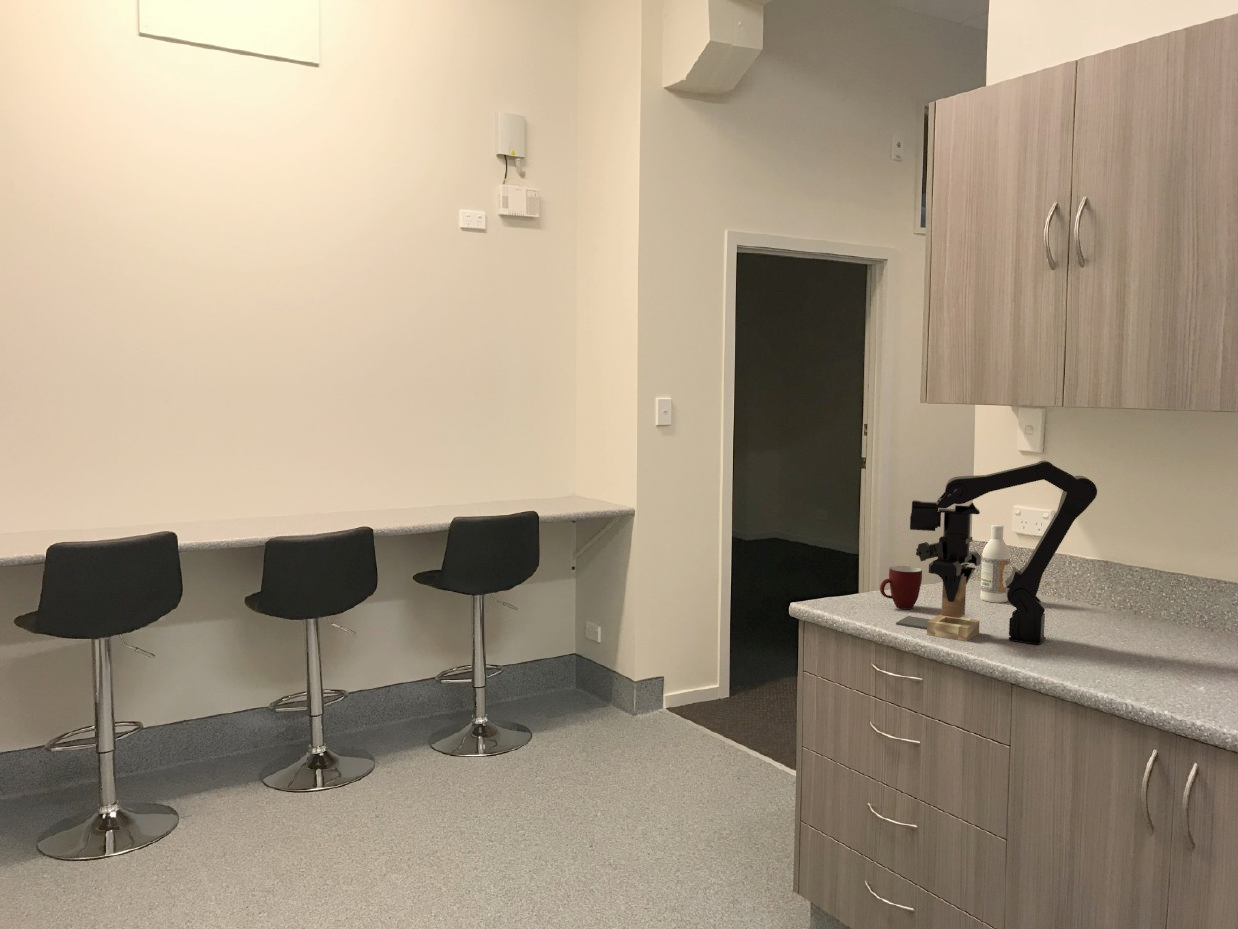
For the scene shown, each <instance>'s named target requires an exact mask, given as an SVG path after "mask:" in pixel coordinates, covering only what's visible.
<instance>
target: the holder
mask: <svg viewBox="0 0 1238 929" xmlns="http://www.w3.org/2000/svg"><path fill="white" fill-rule="evenodd" d="M979 633H980V619H974V618H969V617H968V618H967V617H963V616H962V617H960V618H954V617H948V616H942V613H940V614H939V615H937V616H935V617H934V618H932V619H931V620H930V621H928V622H927V629H926V635H927V636H931V637H932V636H934V637H938V638H943V639H944V638H946V639H952V640H957V641H962V642H968V641H970V640H971V639H972V638H974V637H975V636H976V635H978V634H979Z"/></svg>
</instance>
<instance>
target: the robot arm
mask: <svg viewBox="0 0 1238 929" xmlns="http://www.w3.org/2000/svg"><path fill="white" fill-rule="evenodd" d="M1038 481H1046V482H1047V483H1049V484H1051V485H1053V486H1054V487H1056V488H1059V489H1060V490H1062V492H1061V496H1060V499H1059V503H1058V507H1057V510H1056V512H1055V514H1054V515H1053V517H1052V518H1051V520H1050V522H1049V523H1048V526H1047V527H1046V528H1045V530H1044V532H1043V534H1042V536H1041V537H1040V539H1039V540H1038V543H1037V545H1036V546H1035V548H1034V550H1033V552H1032V553H1031V555H1030V556H1029V558H1028V560H1027V561H1026V563H1025V564H1024V565H1023V566H1022V567H1021V568H1019V569H1018V568H1017V567H1015V566H1013V568H1012V569H1011V573H1010V576H1009V578H1008V579H1007V580H1006V581H1005V583H1006V589H1005V590H1006V595H1007V598H1008V601H1007V602H1008V603H1010V606H1013V608H1016V609H1014V610H1013V611H1012V615H1011V617H1010V618H1009V624H1008V636H1009V637H1008V640H1009V641H1012V642H1013V641H1014V642H1020V643H1024V644H1025V643H1027V644H1032V645H1040V644H1042V643H1043V642H1044V641H1046V639H1047V637H1046V636H1045V622H1046V621H1045V618H1046V614H1045V611H1046V610H1045V607H1044V604H1043V602H1042V600H1041V599H1040V598H1039V597H1038V596H1037V594H1038V591H1039V588H1040V585H1041V581H1042V577H1043V574H1044V573H1045V570H1046V569H1047V568H1048V566H1049V564H1050V562H1051V560H1052V559H1053V557H1054V556H1055V554H1056V552H1057V550H1058V548H1059V547H1060V545H1061V544H1062V542H1063V540H1064V538H1065V537H1066V536H1067V533H1068V532H1069V530H1070V529H1071V526H1072V525H1073V523H1074V521H1076V520H1077V518H1078V517H1080V515H1081V514H1082V513H1083V512H1085V510H1087V508H1088V507H1089V506H1090V505H1091V504H1093V502H1094V501H1095V499H1096V497H1097V495H1098V488H1097V485H1096V483H1095V482H1093V481H1092V480H1091V479H1089V477H1086V476H1083V475H1073V474H1070V473H1069V472H1067V471H1065V470H1063V469H1061V468H1060V467H1057V466H1055V465H1054V464H1052V462H1050V461H1048V460H1045V459H1043V460H1039V461H1037V462H1035V463H1031V464H1027V465H1022V466H1019V467H1014V468H1010V469H1006V470H1001V471H997V472H993V473H989V474H988V473H987V474H983V475H982V474H980V475H961V476H958V475H957V476H955V477H952V478H950V479H948V480H947V482H946V485H945V489H944V492H943V494H942V495H941V496H939V497H937V498H938V499H937V500H936V501H921V500H915V499H913V500H912V501H911V512H910V518H909V529H910V531H924V532H925V531H927V532H936V529H938V528H941V524H942V523H941V522H942V518H941V517H942V513H943V514H944V515H943V535H941V536H940V537H939V538H938V542H933V543H928V542H927V541H925V542H921V543H918V544H917V548H915V550H916V552H915V555H916V556H917V557H919V560H920V562H924V561H927V560H930V559H933V558H936V559H935V560H932V561H931V562H930V563H928V573H929V574H933V575H937V576H938V577H939V578H940V579H941V580H942V584H943V583H944V587H945V591H946V594H947V598H948V601H949V602H953V601H954V599H955V597H956V594H957V592H958V589H959V587H960V584H961V582H962V579H963V577H964V576H966V585H968V583H969V581H970V579H971V577H972V575H973V573H974V571H975V570H976V568H975V567H972V566H970V564H974V566H980V565H982V555H981V554H980V553H978V551H970V545H971V544H970V543H971V542H973V536H971V522H972V520H971V517H972V516H971V515H980V513H981V512H980V509H979V508H977V507H976V505H975V503H974V502H971V501H974V500H975V499H979V497H982V496H984V495H986V494H989V493H990V492H995V491H999V490H1004V489H1009V488H1012V487H1016V486H1021V485H1026V484H1030V483H1034V482H1038ZM968 502H970V504H968V505H963V504H966V503H968ZM953 505H954V508H950V507H951V506H953Z"/></svg>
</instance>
